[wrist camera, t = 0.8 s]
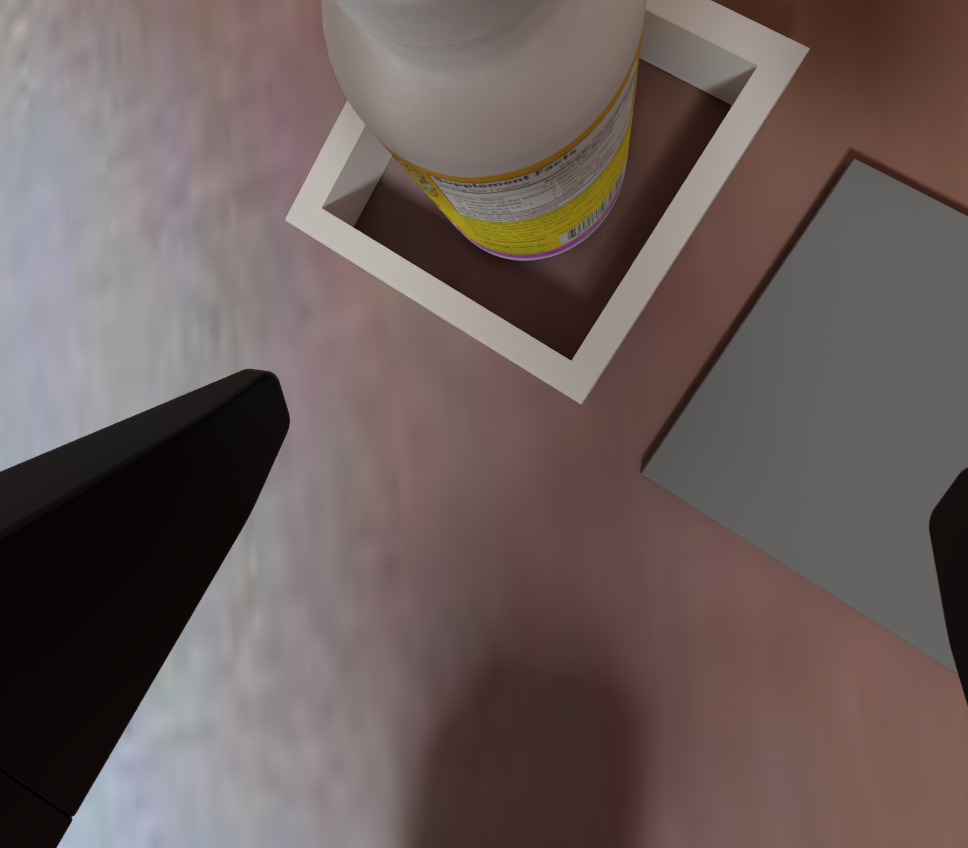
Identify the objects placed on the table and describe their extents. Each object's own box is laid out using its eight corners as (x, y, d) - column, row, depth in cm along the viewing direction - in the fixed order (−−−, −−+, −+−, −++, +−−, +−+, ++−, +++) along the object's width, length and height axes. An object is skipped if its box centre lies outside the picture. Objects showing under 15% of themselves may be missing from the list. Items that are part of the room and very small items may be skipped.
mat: (961, 674, 18) (971, 682, 18) (640, 472, 20) (641, 474, 20) (1224, 357, 17) (1243, 357, 16) (847, 164, 18) (854, 158, 18)
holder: (583, 403, 20) (580, 404, 18) (319, 239, 22) (284, 220, 20) (782, 94, 19) (810, 48, 16) (479, -59, 20) (462, -121, 18)
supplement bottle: (441, 88, 21) (203, -378, 8) (627, 66, 20) (677, -525, 7) (443, 271, 21) (217, 92, 9) (625, 262, 20) (672, 34, 7)
